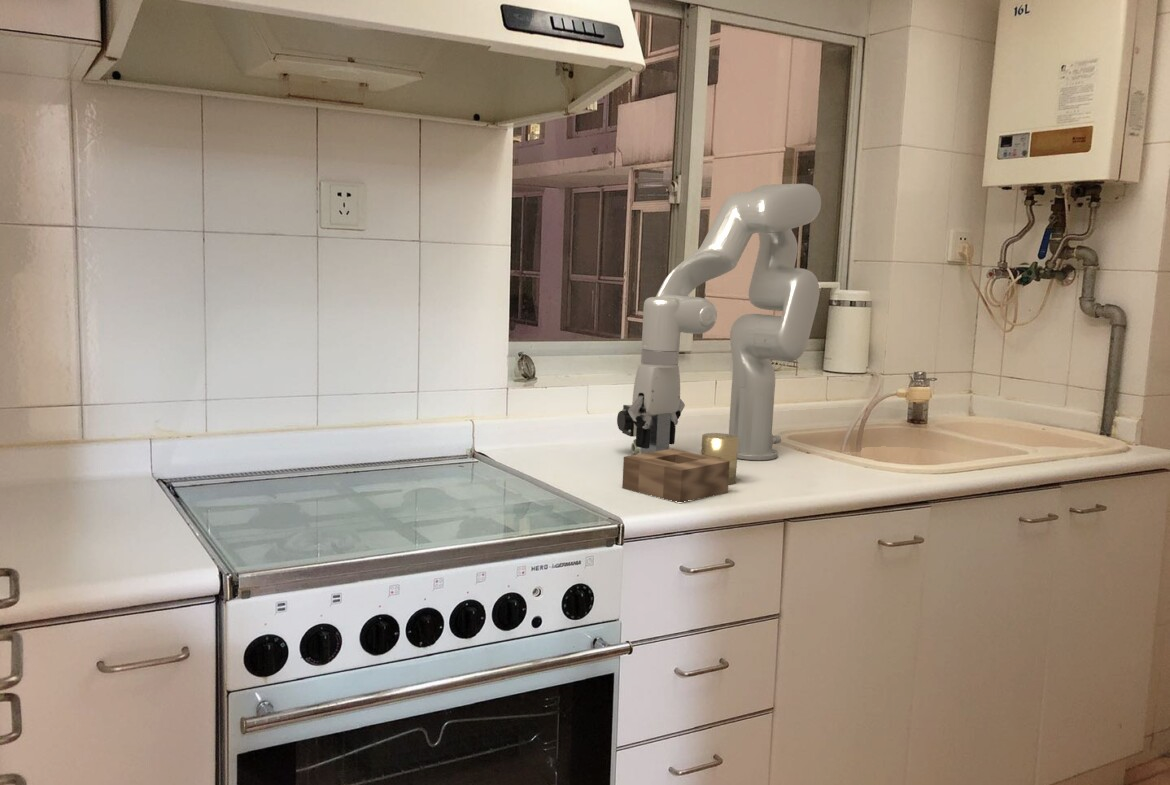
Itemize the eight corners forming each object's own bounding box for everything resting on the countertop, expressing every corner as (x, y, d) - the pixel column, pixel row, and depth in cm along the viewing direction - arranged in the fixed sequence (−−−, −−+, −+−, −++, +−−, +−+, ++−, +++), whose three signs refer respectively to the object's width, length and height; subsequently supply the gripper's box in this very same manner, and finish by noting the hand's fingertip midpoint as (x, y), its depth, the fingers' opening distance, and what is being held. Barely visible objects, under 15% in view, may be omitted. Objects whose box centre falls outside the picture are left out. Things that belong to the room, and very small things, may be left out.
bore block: (670, 478, 194) (672, 448, 193) (727, 492, 184) (729, 461, 183) (622, 488, 184) (623, 456, 183) (679, 503, 174) (681, 470, 173)
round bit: (714, 475, 198) (717, 431, 197) (742, 482, 193) (745, 437, 192) (692, 480, 193) (695, 435, 192) (721, 487, 188) (723, 441, 187)
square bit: (653, 467, 204) (656, 410, 202) (667, 470, 201) (670, 412, 199) (640, 469, 201) (643, 411, 199) (654, 473, 198) (657, 414, 196)
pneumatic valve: (672, 456, 216) (675, 402, 214) (623, 458, 211) (626, 403, 210) (661, 451, 221) (664, 398, 219) (613, 453, 217) (616, 399, 215)
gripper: (673, 355, 206) (668, 438, 209) (616, 358, 194) (612, 447, 197) (701, 358, 201) (696, 443, 204) (644, 362, 189) (640, 453, 191)
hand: (655, 444), depth 200 cm, fingers open, 7 cm apart
